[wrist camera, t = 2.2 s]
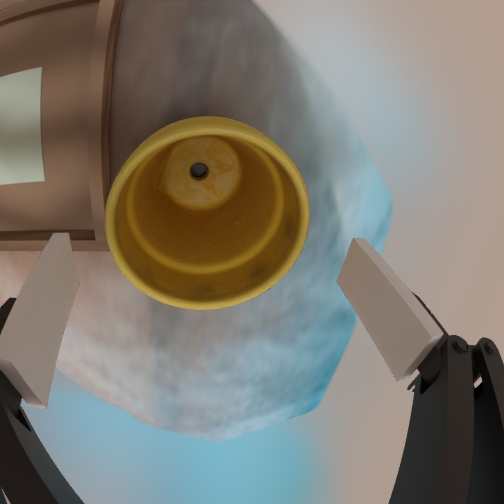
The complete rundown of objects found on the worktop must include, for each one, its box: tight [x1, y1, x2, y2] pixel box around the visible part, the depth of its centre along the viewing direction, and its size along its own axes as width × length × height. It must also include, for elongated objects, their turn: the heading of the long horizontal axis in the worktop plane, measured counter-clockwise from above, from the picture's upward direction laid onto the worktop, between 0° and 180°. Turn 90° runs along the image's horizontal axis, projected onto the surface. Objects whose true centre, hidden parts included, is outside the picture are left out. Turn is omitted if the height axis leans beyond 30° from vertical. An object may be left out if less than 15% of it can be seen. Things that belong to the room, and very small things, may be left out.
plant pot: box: [105, 116, 310, 310], centre depth 18 cm, size 10×10×10 cm
